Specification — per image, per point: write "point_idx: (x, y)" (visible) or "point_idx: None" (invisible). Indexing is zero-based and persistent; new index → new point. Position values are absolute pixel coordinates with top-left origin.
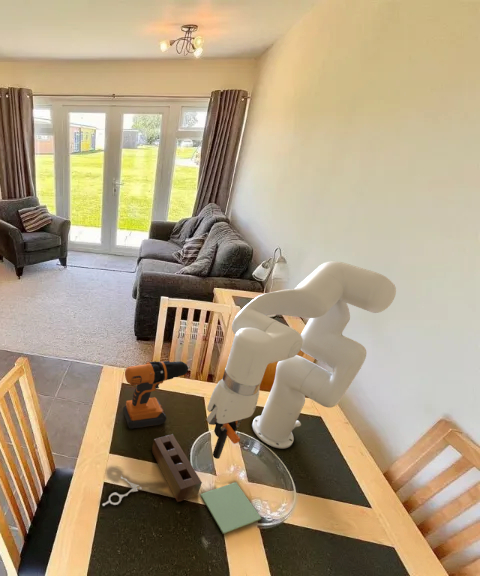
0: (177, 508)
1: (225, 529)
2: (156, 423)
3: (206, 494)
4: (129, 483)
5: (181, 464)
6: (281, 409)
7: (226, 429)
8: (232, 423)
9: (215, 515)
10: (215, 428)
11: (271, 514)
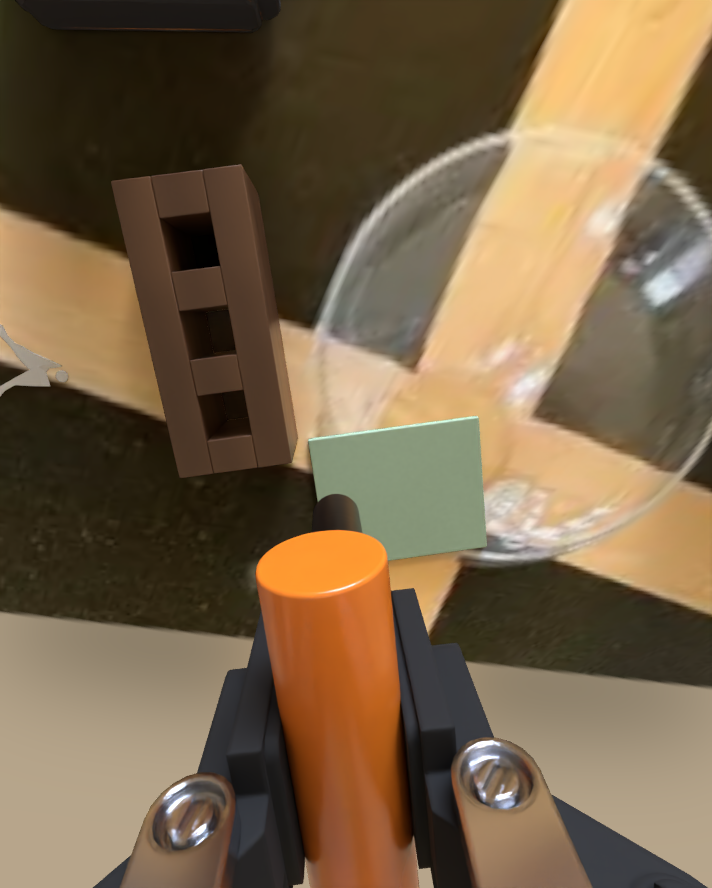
0: None
1: None
2: (216, 23)
3: (330, 446)
4: (14, 348)
5: (225, 364)
6: None
7: (299, 879)
8: (435, 858)
9: None
10: (216, 715)
11: (532, 533)
